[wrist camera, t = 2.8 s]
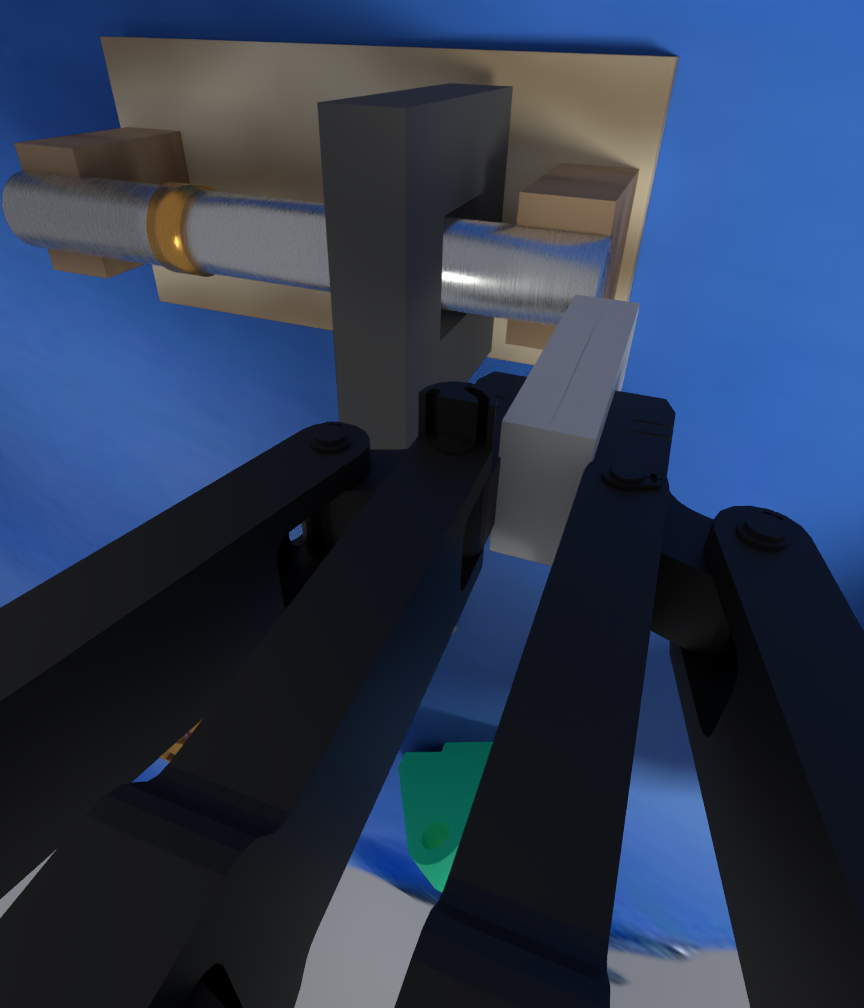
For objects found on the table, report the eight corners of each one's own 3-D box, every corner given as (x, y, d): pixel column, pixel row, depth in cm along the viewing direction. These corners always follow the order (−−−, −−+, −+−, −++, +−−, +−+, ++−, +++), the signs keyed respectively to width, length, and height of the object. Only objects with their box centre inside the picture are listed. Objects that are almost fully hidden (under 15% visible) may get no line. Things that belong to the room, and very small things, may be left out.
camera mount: (450, 798, 58) (406, 917, 50) (410, 741, 55) (357, 857, 47) (575, 803, 51) (548, 940, 43) (538, 738, 48) (501, 873, 41)
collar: (491, 350, 29) (405, 460, 21) (441, 342, 30) (341, 445, 22) (513, 86, 23) (405, 108, 15) (449, 82, 24) (317, 102, 16)
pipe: (600, 317, 23) (584, 351, 21) (76, 241, 30) (16, 259, 27) (618, 220, 21) (603, 243, 19) (53, 160, 28) (-14, 172, 25)
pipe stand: (615, 365, 30) (586, 446, 24) (177, 293, 37) (69, 342, 31) (678, 56, 23) (660, 61, 17) (123, 36, 30) (-30, 35, 24)
